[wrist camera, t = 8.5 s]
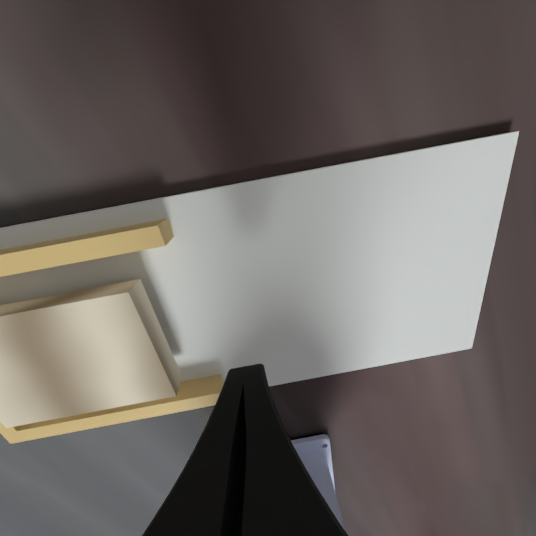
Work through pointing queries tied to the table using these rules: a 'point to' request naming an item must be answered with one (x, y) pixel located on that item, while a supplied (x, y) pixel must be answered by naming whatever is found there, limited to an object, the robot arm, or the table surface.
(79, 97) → the table surface
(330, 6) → the table surface
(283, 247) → the board
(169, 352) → the beige flat block
